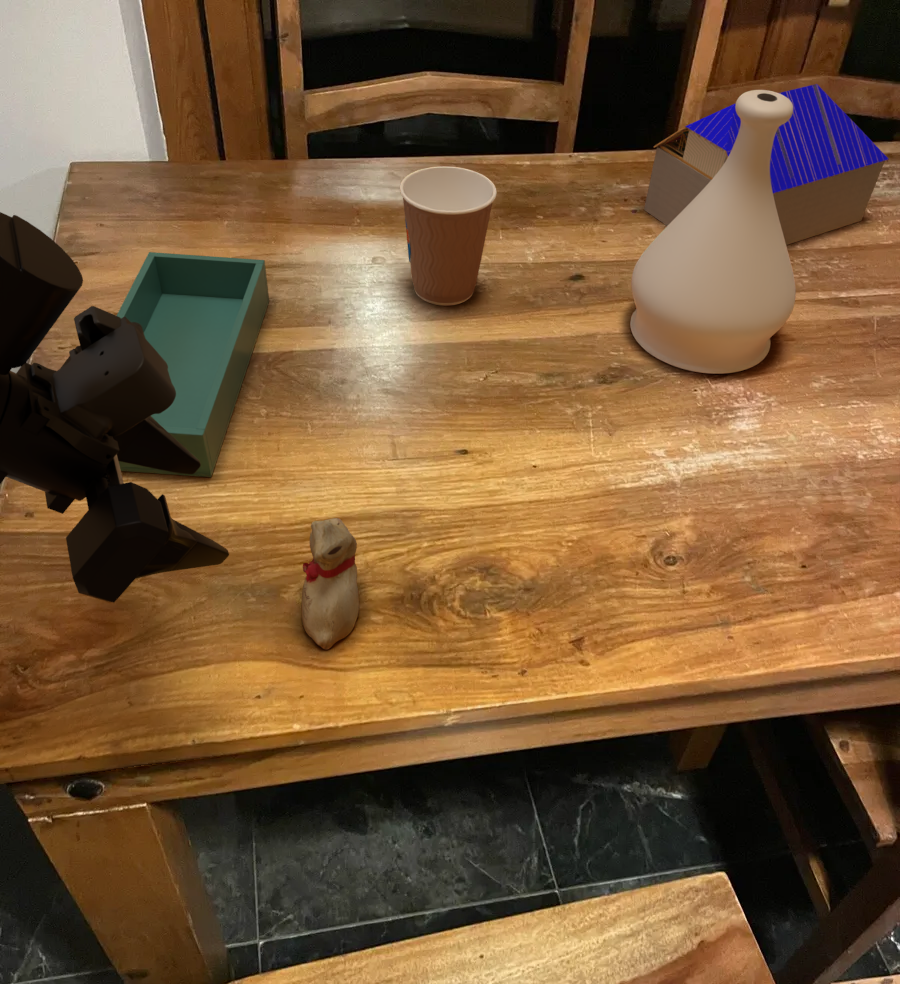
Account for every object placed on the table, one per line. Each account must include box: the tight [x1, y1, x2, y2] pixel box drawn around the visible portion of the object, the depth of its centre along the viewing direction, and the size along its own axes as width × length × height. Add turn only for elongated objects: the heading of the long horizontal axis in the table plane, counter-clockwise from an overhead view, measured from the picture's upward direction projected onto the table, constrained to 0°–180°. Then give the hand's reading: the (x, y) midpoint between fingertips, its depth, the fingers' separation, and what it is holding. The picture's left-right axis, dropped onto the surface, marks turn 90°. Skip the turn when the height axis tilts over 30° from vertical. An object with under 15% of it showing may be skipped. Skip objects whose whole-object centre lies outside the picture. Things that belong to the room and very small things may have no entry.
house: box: [643, 83, 890, 246], centre depth 117 cm, size 25×16×16 cm, turn 121°
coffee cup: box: [399, 165, 497, 307], centre depth 104 cm, size 10×10×12 cm
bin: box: [116, 251, 270, 478], centre depth 94 cm, size 30×13×5 cm, turn 177°
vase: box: [629, 89, 797, 375], centre depth 95 cm, size 17×17×25 cm
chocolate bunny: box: [301, 517, 360, 651], centre depth 72 cm, size 6×8×10 cm
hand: (210, 511), depth 64 cm, fingers open, 9 cm apart
